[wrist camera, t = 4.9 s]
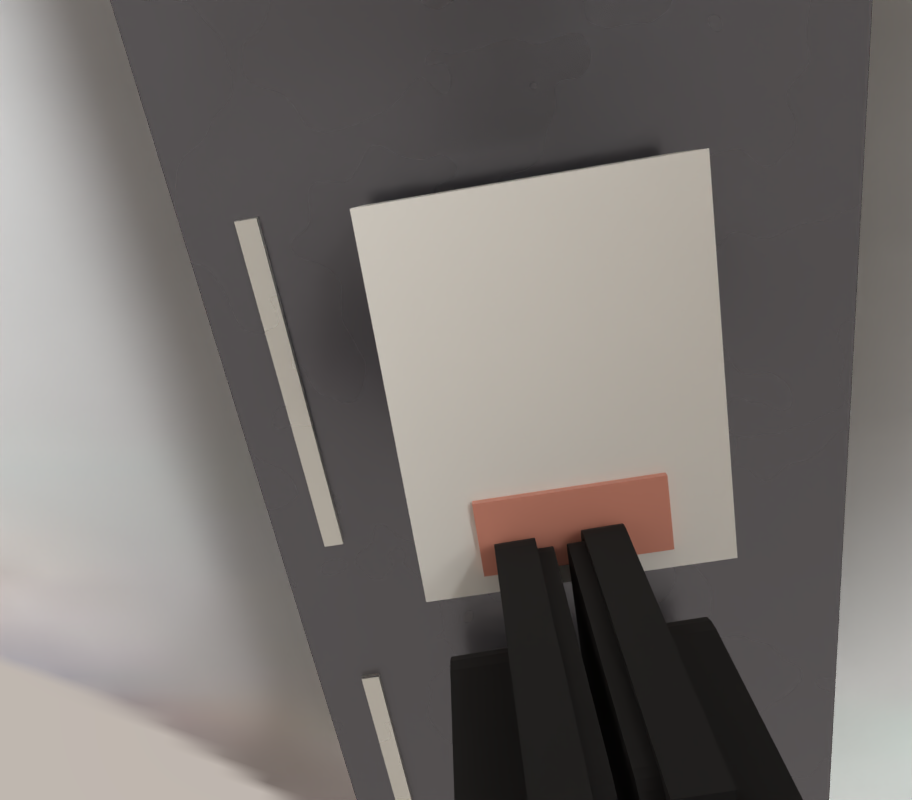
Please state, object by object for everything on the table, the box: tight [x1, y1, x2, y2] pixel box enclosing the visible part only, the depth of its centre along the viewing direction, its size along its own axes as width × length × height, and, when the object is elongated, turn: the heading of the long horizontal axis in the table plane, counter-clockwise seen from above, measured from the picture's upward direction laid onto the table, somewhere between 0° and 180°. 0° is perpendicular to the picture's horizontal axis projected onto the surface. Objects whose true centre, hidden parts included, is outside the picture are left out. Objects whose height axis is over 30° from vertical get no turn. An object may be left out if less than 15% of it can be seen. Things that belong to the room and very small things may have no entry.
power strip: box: [110, 0, 872, 800], centre depth 11 cm, size 29×9×5 cm, turn 9°
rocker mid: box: [350, 148, 738, 602], centre depth 10 cm, size 5×4×1 cm
